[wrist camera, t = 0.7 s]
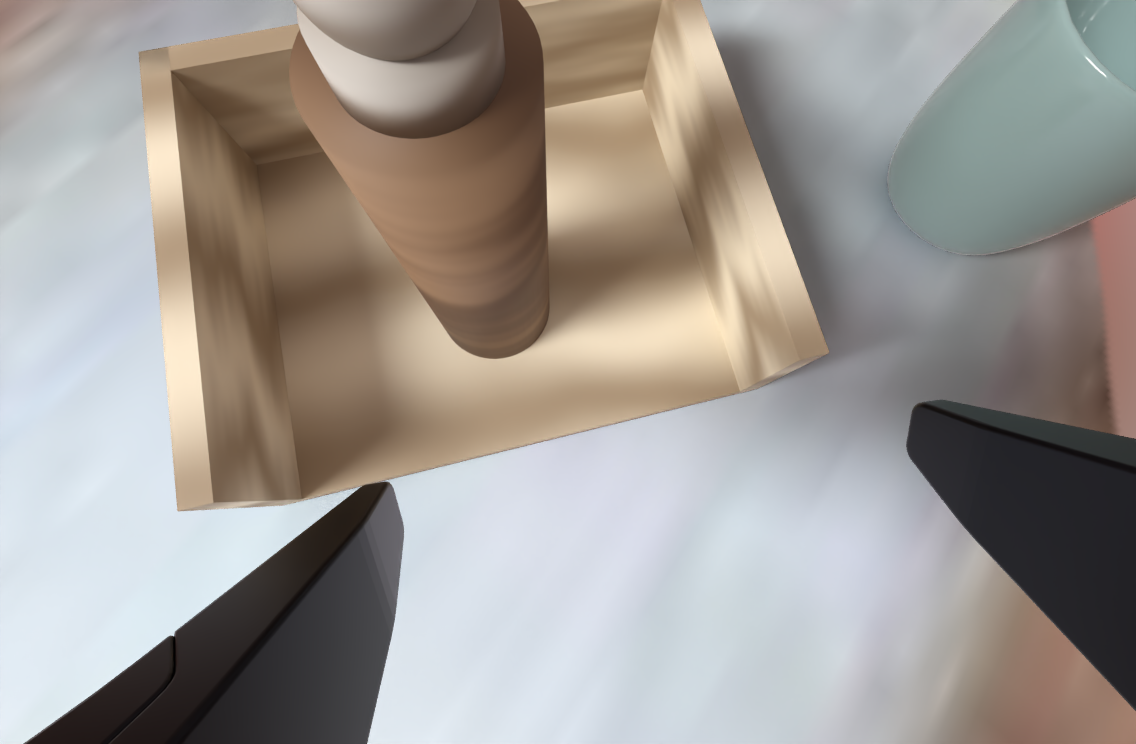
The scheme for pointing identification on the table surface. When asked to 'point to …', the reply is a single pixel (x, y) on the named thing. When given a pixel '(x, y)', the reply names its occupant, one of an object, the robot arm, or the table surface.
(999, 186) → the cup
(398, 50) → the pepper mill
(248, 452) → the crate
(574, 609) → the table surface
